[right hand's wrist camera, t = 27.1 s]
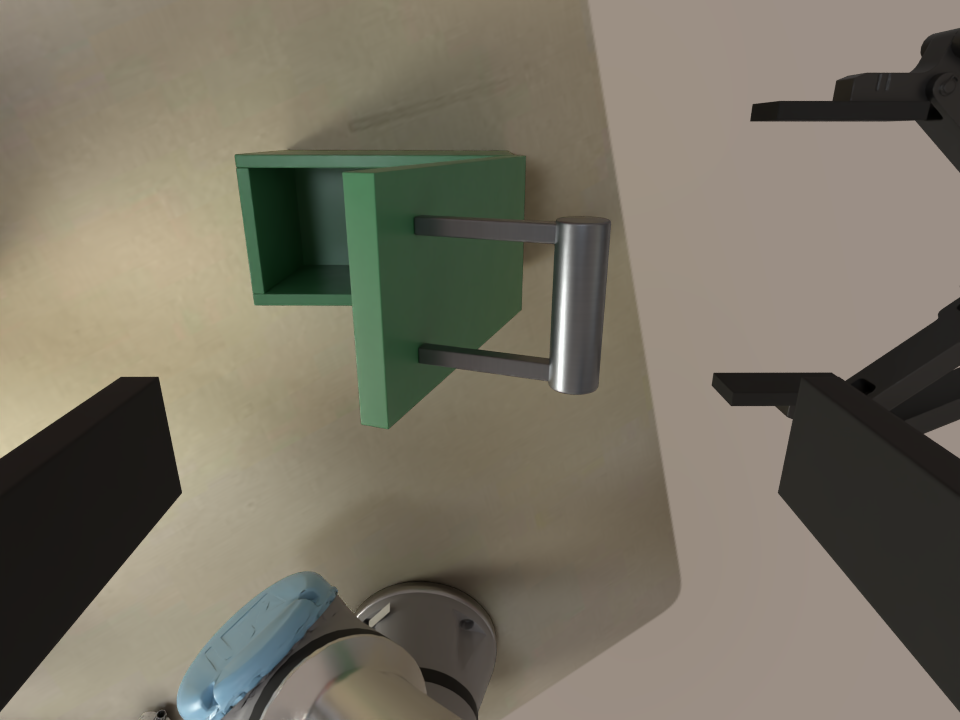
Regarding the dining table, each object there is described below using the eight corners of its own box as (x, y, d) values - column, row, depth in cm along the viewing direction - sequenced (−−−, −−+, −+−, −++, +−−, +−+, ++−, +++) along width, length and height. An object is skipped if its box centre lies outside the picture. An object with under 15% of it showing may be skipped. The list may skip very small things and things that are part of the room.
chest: (297, 272, 49) (253, 305, 39) (284, 150, 45) (233, 154, 36) (506, 272, 49) (512, 306, 39) (508, 150, 45) (515, 155, 36)
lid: (360, 424, 23) (578, 464, 21) (341, 171, 20) (598, 178, 17) (503, 308, 39) (638, 321, 36) (506, 155, 36) (654, 157, 33)
